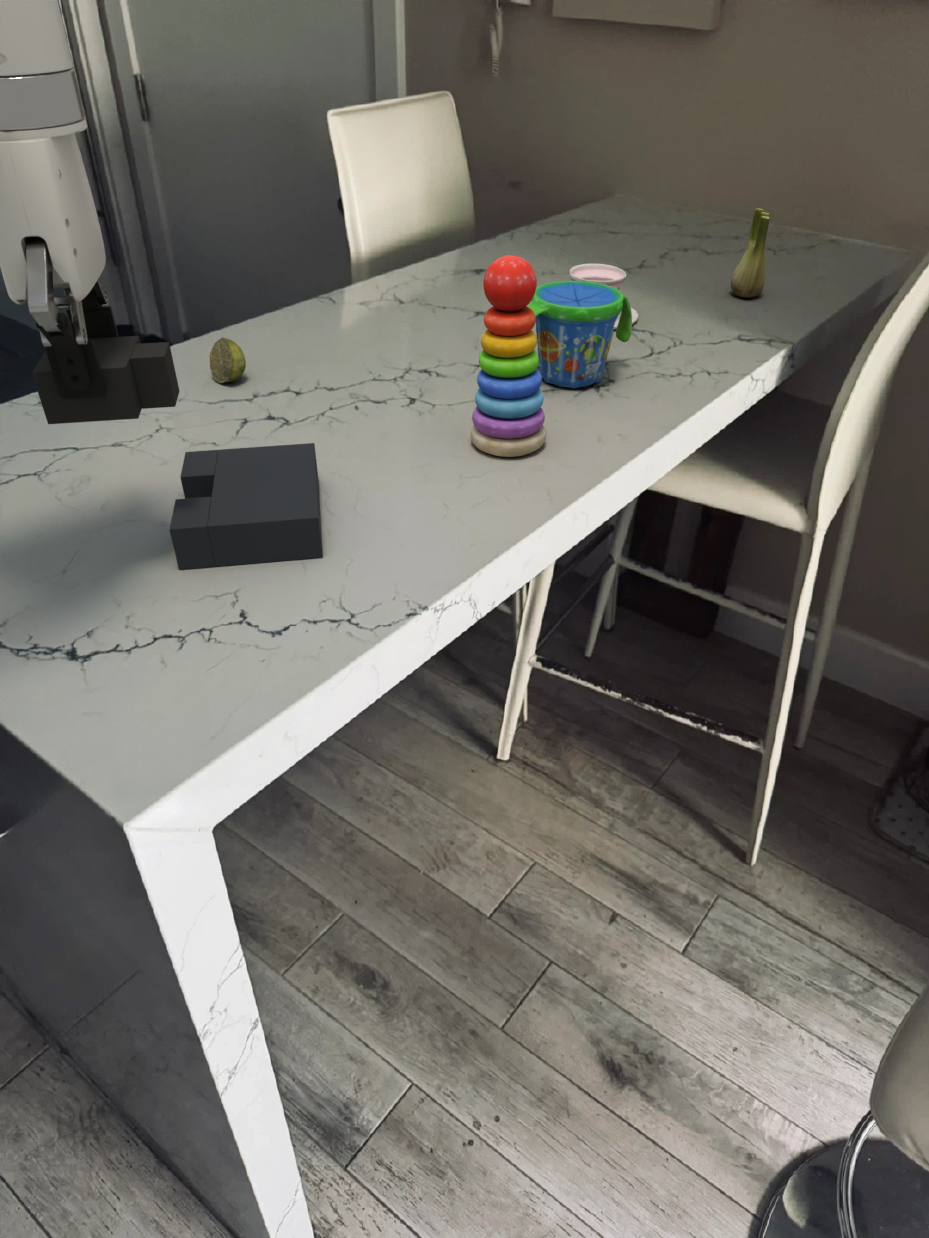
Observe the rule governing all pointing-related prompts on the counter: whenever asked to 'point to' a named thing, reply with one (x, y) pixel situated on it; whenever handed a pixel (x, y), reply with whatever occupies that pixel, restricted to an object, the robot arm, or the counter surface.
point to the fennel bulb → (752, 260)
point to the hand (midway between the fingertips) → (93, 375)
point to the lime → (226, 361)
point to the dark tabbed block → (115, 383)
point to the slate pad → (248, 507)
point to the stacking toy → (509, 365)
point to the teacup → (601, 279)
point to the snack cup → (577, 329)
